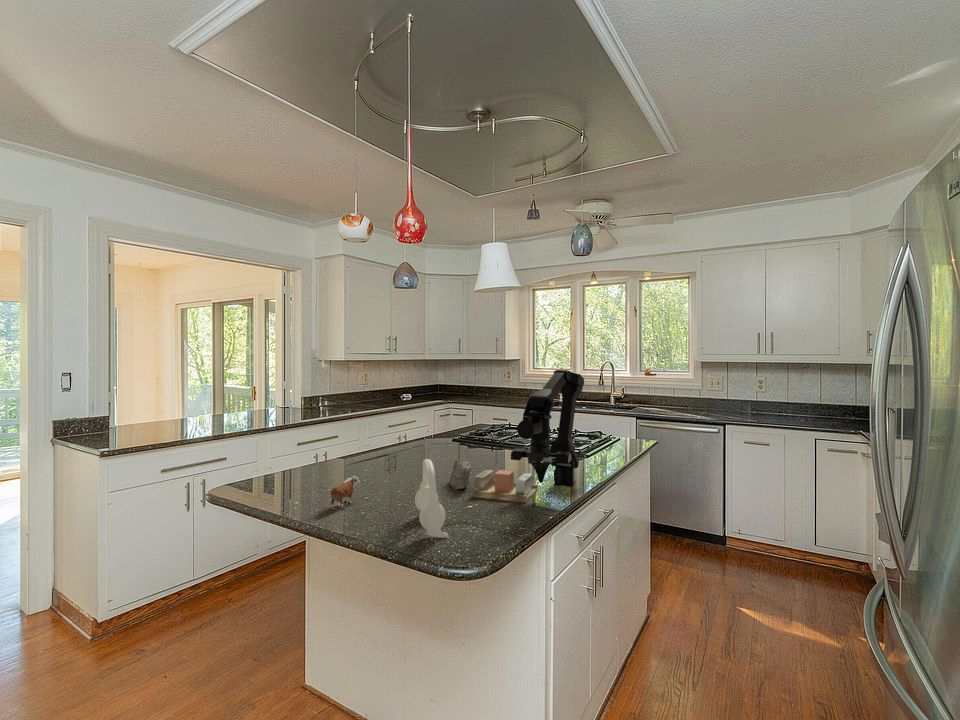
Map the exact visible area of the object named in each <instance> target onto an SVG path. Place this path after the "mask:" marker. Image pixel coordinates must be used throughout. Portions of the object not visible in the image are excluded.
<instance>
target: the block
mask: <svg viewBox="0 0 960 720" xmlns="http://www.w3.org/2000/svg"><path fill="white" fill-rule="evenodd" d="M514 475H515V473H514V470H506V469H505V470H504V469H499V470H497V471H496V472H494V480H495V492H503V493H510V492H511V491H512V490H513V489H514V481H515V476H514Z"/></svg>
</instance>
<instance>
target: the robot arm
mask: <svg viewBox="0 0 960 720" xmlns="http://www.w3.org/2000/svg"><path fill="white" fill-rule="evenodd" d="M584 386H585V378H584V377H583V376H582V375H581V373H576V372H573V371H570V370H568V369H555V370H554V372H553V375H552V376H551V377H550V378H549V380H548V381H547V383H546V384H545V385H544V386H543V387H542V389H539V390H537V391H535V392H533V393H532V394H531V395H530V396H529V398H527V403H526V406H525V409H524V411H523V414H522V420H521V421H519V423H518V425H517V428H516V431H517V434H518V435H519V437H520V438H521V439H524V440H529V439H530V444H529V446H528V448H523V447H522V448H520V447H518V448H517V447H516V448H514V449H513V450H512V451H511V452H510V460H511V461H521V460H522V459H523V458H527V463H528V464H529V465H531V466H532V467H533V469H534V471H535V473H536V476H537V479H538V482H539V483H543V482H544V479H545V476H546V473H547V470H548V469H549V467H550V466H551V467H554V470H553V482H554V483H553V485H554V486H562V485H564V487H574V486H575V484H576V479H575V477H576V476H575V475H576V473H575V469H578V468H579V466H580V459H579V457H578V456H577V453H576V446H575V444H574V442H573V438H572V436H573V429H574V419H575V412H576V403H577V399H578V397H579V396H580V395H581V394H582V391H583V387H584ZM559 393H561V395H562V399H561V401H562V402H561V407H560V415H559V422H558V423H559V425H558V432H557V436H556V438H555V439H554V440H552V441H550V440H551V436H550V434H551V433H550V430H551V428H550V426H551V425H550V420H551V419H552V417H553V416H552V415H551V413H552V410H554V409H553V408H554V406H555V401H554V400H555V399H556V396H558V394H559ZM550 442H551V443H550ZM574 483H575V484H574Z"/></svg>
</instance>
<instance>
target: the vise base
mask: <svg viewBox="0 0 960 720" xmlns="http://www.w3.org/2000/svg"><path fill="white" fill-rule="evenodd" d="M538 486H539V485H538V484H536V483H533V489H532V490H531V491H530V492H529V493H528V494H527V495H519V494H516V487H515V482H514V489H513V490H512V491H511V492H510V493H503V492H495V472H494V470H493V469H485V470H483V471H481V472H480V473H478V474H476V475H475V476H474V489H473V490H472V491H471V495H472V498H480V499H488V500H496V501H497V500H498V501H508V502H517V503H527V502H528V501H529V500H530V499H531V498H532V497H533V495H535V494H536V493H537V492H538V490H539V489H538Z"/></svg>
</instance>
